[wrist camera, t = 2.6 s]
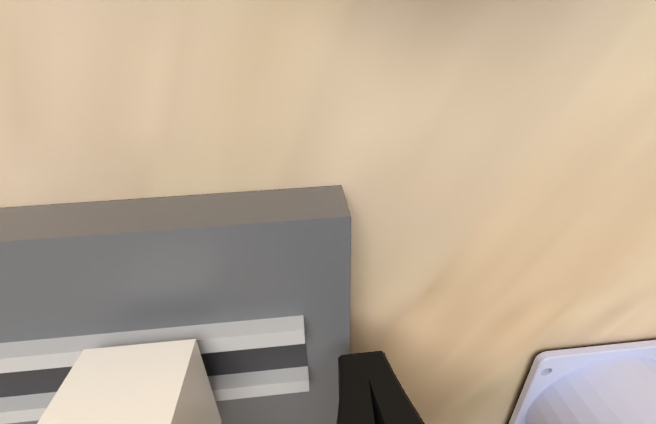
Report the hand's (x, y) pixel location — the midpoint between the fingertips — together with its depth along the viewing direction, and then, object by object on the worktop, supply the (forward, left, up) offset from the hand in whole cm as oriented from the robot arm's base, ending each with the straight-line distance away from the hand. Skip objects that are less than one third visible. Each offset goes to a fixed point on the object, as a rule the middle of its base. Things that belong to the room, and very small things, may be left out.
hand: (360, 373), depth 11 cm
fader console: (0, +10, -3) cm, 11 cm away
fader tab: (0, +6, -1) cm, 6 cm away
